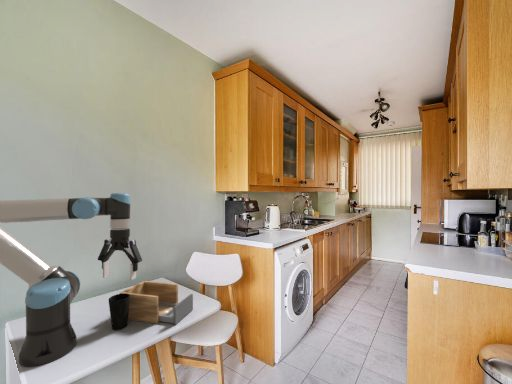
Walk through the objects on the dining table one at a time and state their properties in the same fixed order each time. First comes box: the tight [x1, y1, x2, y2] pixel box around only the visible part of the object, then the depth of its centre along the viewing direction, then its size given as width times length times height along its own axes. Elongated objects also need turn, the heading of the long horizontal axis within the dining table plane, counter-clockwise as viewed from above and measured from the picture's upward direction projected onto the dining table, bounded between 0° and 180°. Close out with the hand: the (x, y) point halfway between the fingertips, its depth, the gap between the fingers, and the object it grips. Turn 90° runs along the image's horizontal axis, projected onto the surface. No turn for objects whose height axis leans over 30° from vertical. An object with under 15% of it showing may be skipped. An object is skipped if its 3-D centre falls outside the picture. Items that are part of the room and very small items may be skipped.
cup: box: [108, 293, 130, 331], centre depth 99 cm, size 8×8×12 cm
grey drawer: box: [159, 293, 194, 325], centre depth 108 cm, size 14×18×7 cm
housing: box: [119, 280, 179, 324], centre depth 110 cm, size 15×19×11 cm
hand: (119, 277), depth 105 cm, fingers open, 13 cm apart
